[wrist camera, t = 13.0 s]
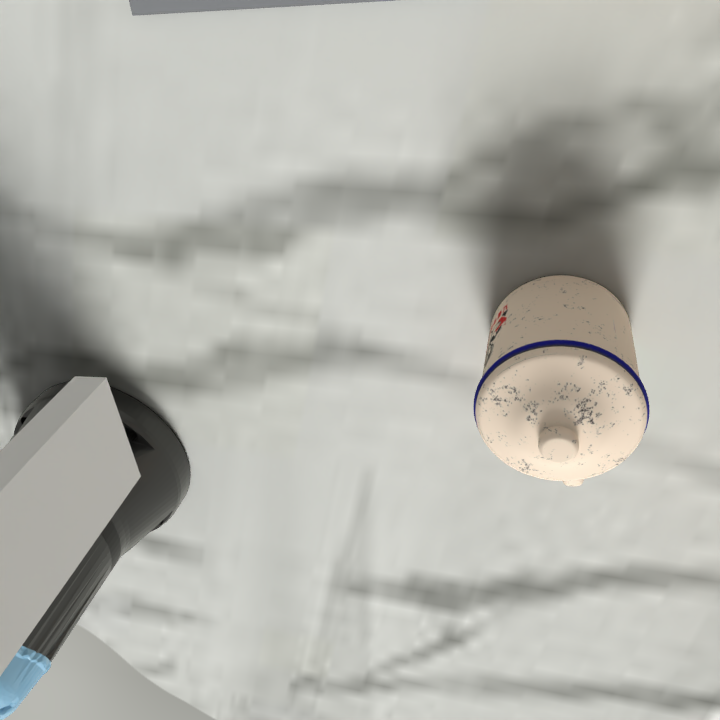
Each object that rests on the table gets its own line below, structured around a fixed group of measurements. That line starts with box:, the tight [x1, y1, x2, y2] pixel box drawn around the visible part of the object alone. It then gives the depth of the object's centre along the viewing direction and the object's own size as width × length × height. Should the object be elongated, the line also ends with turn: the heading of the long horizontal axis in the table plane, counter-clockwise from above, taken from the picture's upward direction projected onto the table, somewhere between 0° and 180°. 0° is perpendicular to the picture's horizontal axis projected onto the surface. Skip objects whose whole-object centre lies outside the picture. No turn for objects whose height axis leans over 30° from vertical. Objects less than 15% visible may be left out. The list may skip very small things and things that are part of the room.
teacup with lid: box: [474, 275, 649, 486], centre depth 40 cm, size 12×9×12 cm
